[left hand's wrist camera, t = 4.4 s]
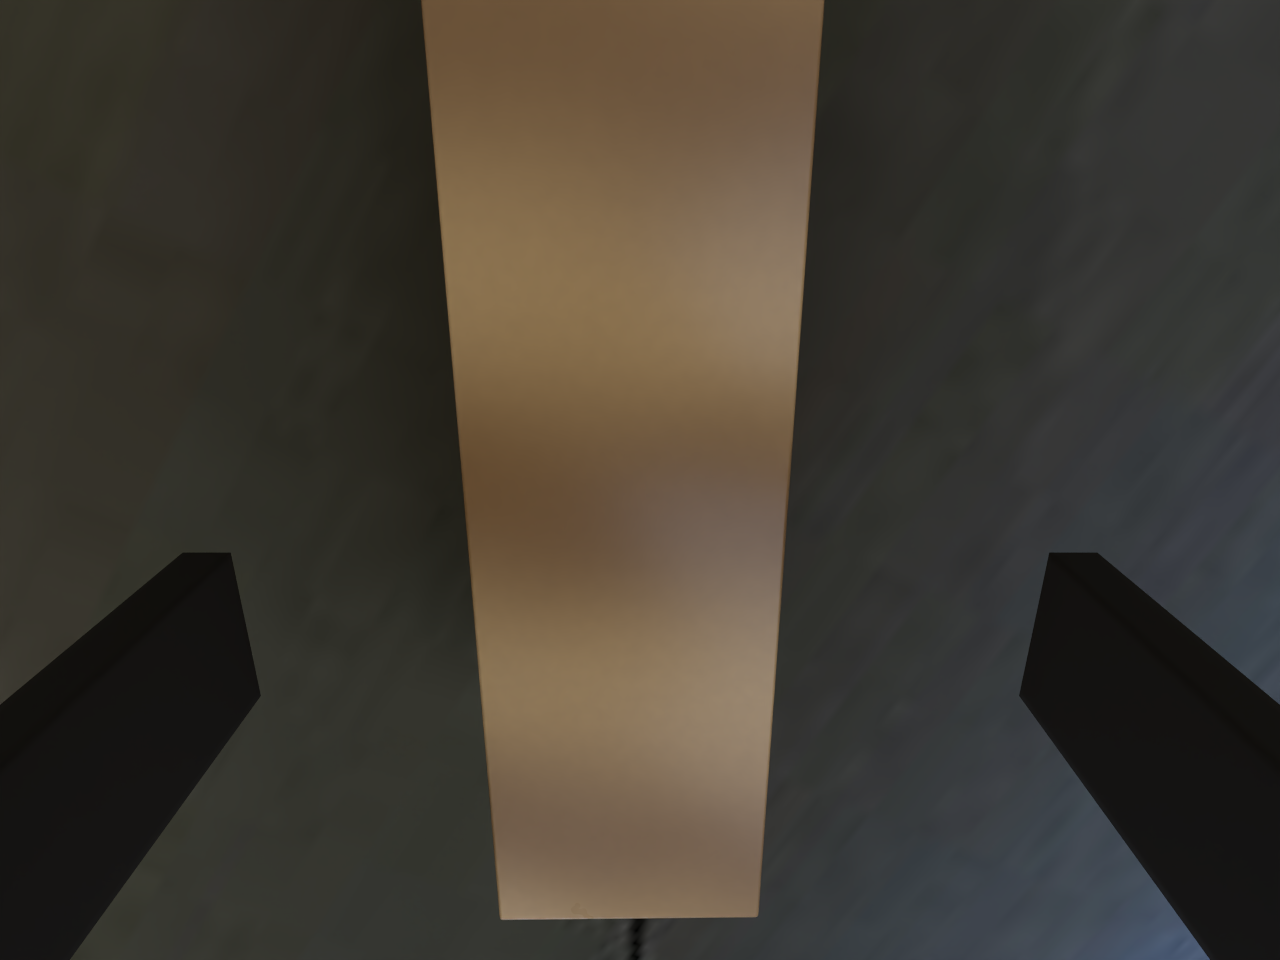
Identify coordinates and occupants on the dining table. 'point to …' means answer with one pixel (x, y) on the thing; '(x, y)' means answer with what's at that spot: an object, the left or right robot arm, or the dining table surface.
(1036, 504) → the dining table surface
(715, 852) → the beam
